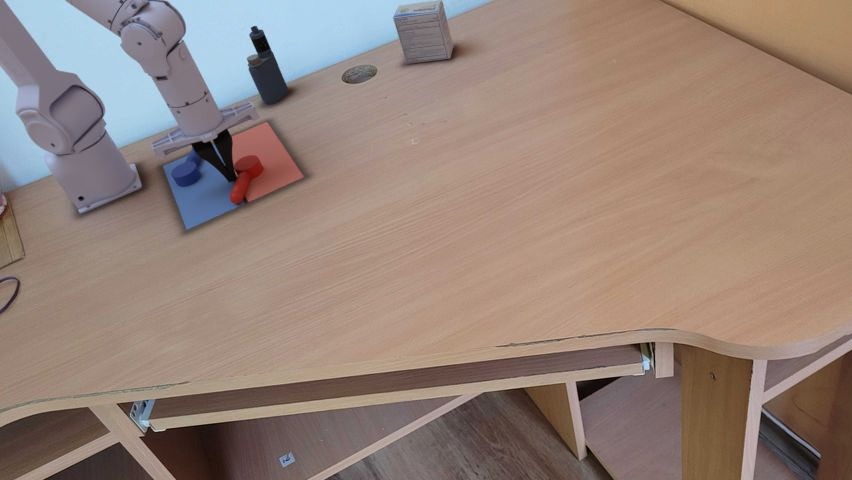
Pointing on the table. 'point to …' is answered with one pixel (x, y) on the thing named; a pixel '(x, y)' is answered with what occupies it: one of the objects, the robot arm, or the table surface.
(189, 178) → the blue spoon
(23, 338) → the table surface
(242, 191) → the red spoon
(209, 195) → the sorting mat
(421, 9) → the medicine box
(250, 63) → the vaping device
